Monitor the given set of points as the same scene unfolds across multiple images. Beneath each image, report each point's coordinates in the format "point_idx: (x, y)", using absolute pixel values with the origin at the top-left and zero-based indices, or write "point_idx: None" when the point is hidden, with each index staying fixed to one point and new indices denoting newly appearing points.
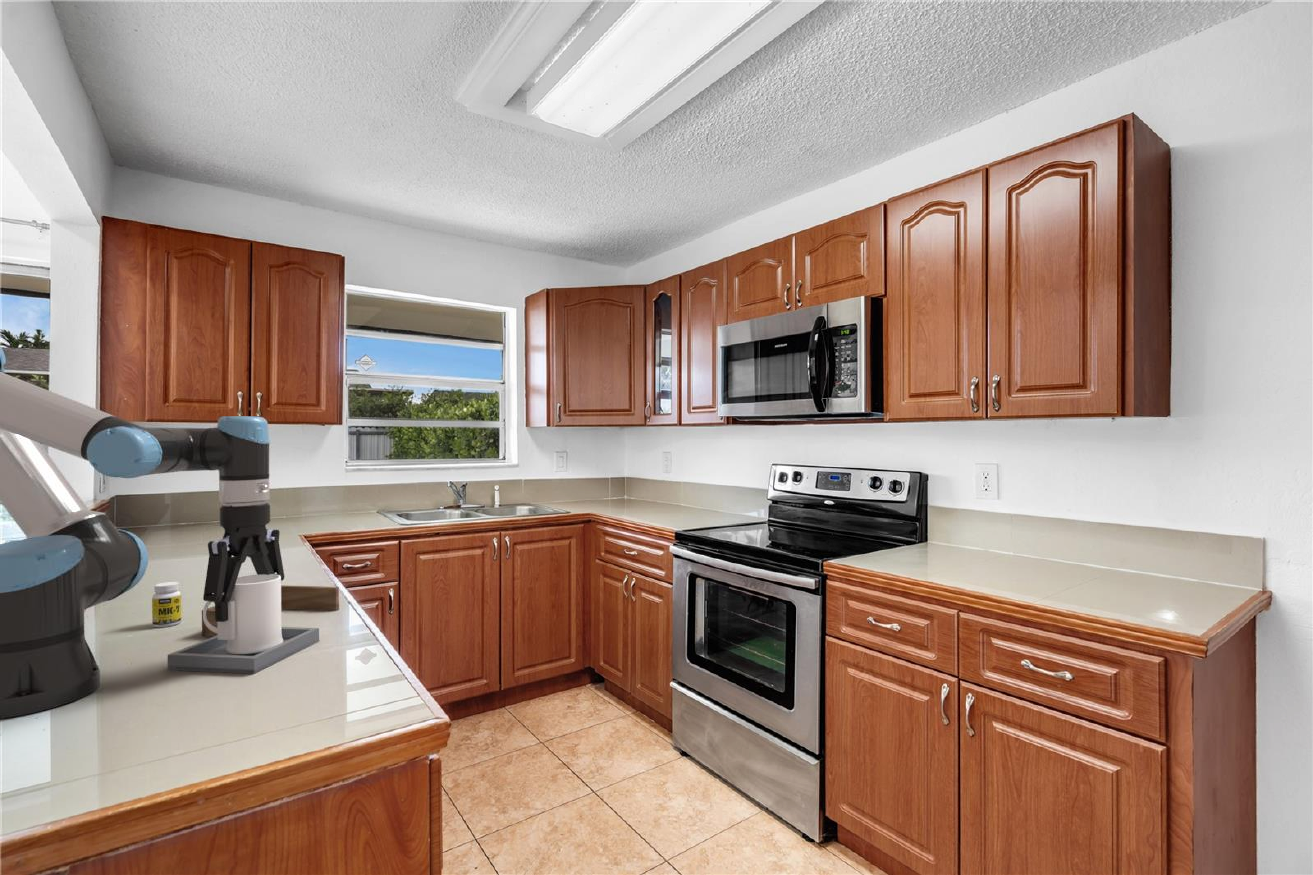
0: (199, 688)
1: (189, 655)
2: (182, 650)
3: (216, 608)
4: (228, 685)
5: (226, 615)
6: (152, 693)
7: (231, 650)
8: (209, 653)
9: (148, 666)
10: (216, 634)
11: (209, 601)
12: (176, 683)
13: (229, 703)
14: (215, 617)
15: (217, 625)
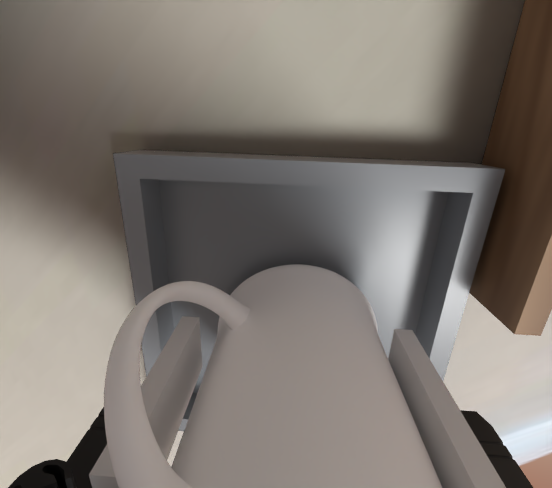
0: (68, 339)
1: (129, 243)
2: (164, 173)
3: (74, 461)
4: (101, 384)
5: None
6: (6, 257)
7: (219, 319)
8: (263, 198)
9: (151, 36)
10: (529, 5)
11: (37, 465)
12: (71, 264)
13: (36, 435)
14: (103, 408)
15: (160, 354)
